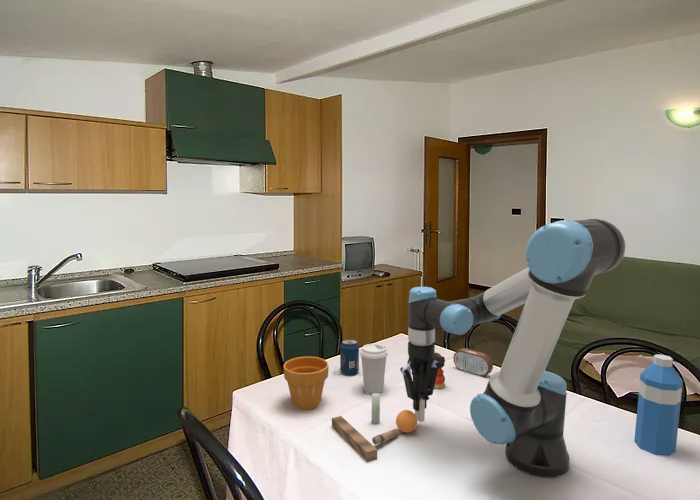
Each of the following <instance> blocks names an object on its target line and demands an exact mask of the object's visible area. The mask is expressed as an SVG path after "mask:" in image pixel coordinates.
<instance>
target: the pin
mask: <svg viewBox="0 0 700 500" xmlns="http://www.w3.org/2000/svg"><path fill="white" fill-rule="evenodd" d="M398 436H400V429H399V428H394V429H390V430H389V431H388V430H387V431H386V432H383V433H380V434H377V435H375V436H372V439H371V440H372V444H373V445H374V446H375V445H376V446H377V445H379V444H382V443H384V442H387V441H388V440H392V439H394V438H397V437H398Z"/></svg>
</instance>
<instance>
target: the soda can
mask: <svg viewBox="0 0 700 500" xmlns="http://www.w3.org/2000/svg"><path fill="white" fill-rule="evenodd" d="M339 349H340V353H339V354H340V358H339V361H340V363H339V367H340V371H341V373H342V374H343V375H344V376H355V375H357V374H358V372H359V370H360V345H359V342H358V340H356V339H353V338H346V339H343V340H342V341H341V343H340V346H339Z"/></svg>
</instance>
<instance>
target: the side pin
mask: <svg viewBox="0 0 700 500" xmlns="http://www.w3.org/2000/svg"><path fill="white" fill-rule="evenodd" d="M380 413H381V393H373V394H371V423H372V425H378V424H380V422H381V421H380V420H381V419H380V417H381V414H380Z"/></svg>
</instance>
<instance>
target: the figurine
mask: <svg viewBox="0 0 700 500" xmlns="http://www.w3.org/2000/svg"><path fill="white" fill-rule="evenodd" d="M433 357H434V360H436V361H438V362H440V363H441V365H440V367H439V369H438V372H437V377H436V381H435V386H434V390H437V389H442V388H443V389H444V388H445V387H446V383H445V381H446V377H445V375H444V372H445V371H444V370H443V367H444V366H445V362H446V359H445V356H442V355H441V353H439V352H435V353H434V356H433Z"/></svg>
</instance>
